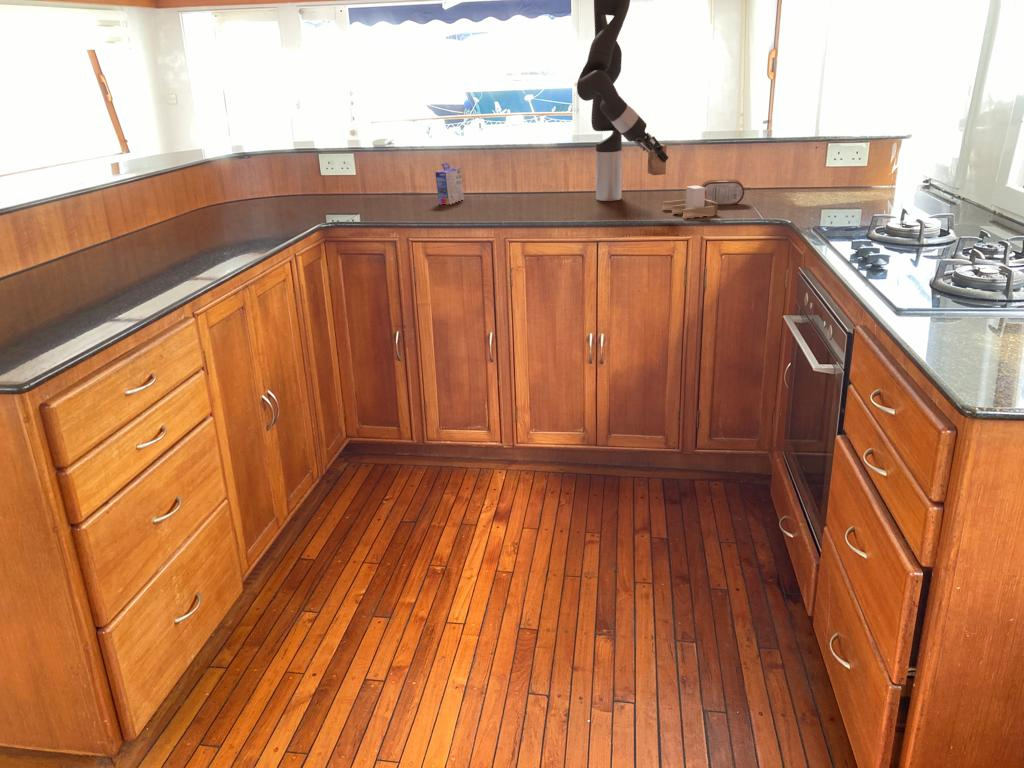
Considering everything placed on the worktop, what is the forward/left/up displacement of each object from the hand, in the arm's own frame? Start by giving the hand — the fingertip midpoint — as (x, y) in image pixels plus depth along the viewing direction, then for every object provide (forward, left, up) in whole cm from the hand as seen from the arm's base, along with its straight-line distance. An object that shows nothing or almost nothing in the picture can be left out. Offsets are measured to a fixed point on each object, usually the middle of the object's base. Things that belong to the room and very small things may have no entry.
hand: (662, 158), depth 257 cm
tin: (-5, +25, -18) cm, 31 cm away
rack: (+3, +9, -18) cm, 20 cm away
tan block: (0, -2, -4) cm, 5 cm away
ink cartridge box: (-60, -58, -18) cm, 85 cm away
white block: (+6, +9, -18) cm, 21 cm away
